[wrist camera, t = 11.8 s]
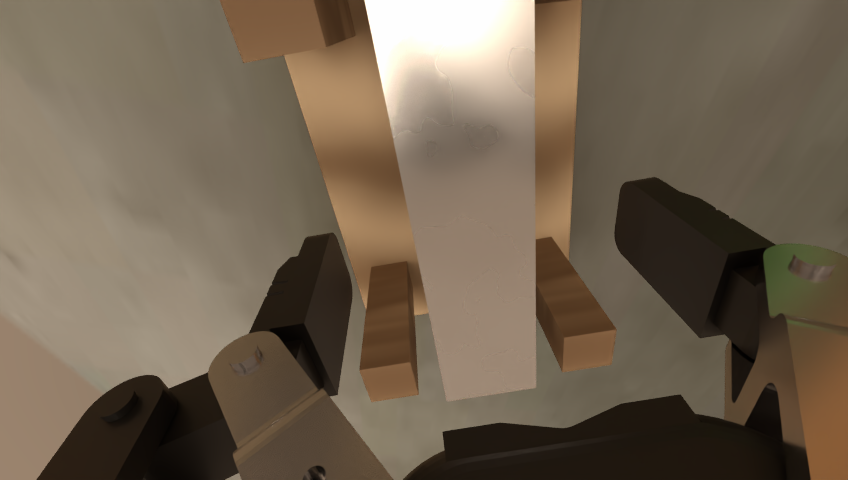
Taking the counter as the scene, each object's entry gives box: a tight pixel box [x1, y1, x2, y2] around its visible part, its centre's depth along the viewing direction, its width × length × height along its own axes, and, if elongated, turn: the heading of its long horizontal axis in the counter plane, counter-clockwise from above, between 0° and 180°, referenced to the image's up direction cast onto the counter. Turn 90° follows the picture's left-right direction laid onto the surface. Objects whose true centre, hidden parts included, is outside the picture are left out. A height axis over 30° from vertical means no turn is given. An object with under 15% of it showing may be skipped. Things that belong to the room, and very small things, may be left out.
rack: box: [220, 0, 617, 402], centre depth 15 cm, size 19×12×8 cm, turn 9°
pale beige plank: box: [365, 0, 536, 401], centre depth 15 cm, size 18×4×6 cm, turn 9°
